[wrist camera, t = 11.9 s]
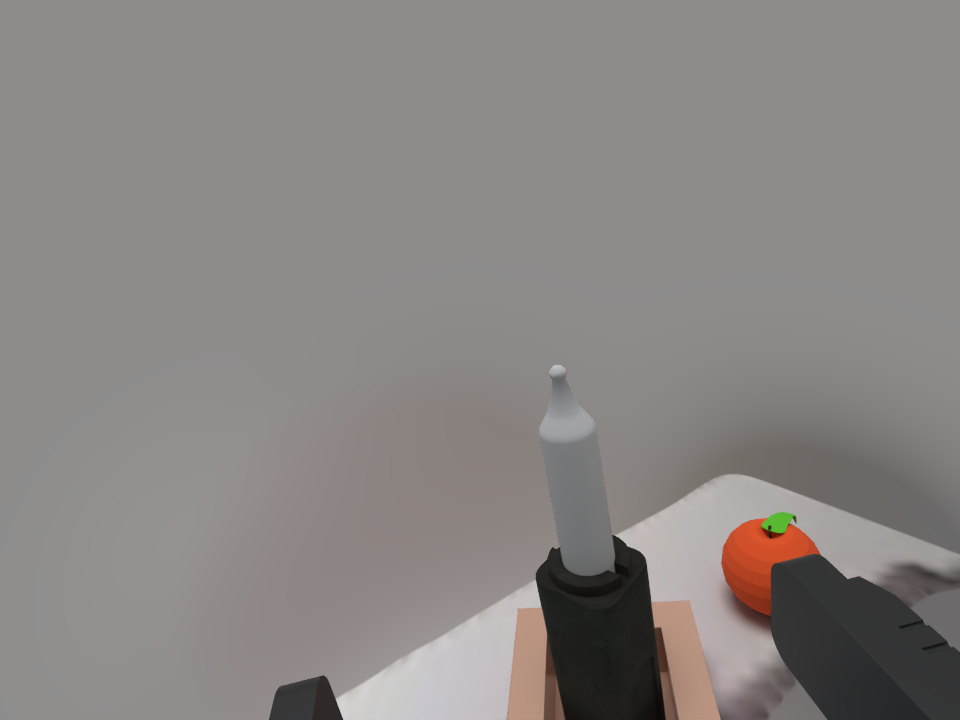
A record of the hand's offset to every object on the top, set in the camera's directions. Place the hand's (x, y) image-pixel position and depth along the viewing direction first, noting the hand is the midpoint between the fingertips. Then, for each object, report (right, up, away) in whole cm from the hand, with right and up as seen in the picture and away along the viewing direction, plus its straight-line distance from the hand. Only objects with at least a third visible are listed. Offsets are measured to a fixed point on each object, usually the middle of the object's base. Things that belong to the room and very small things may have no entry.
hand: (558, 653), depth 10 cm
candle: (+7, -18, +26) cm, 33 cm away
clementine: (+22, -13, +34) cm, 43 cm away
